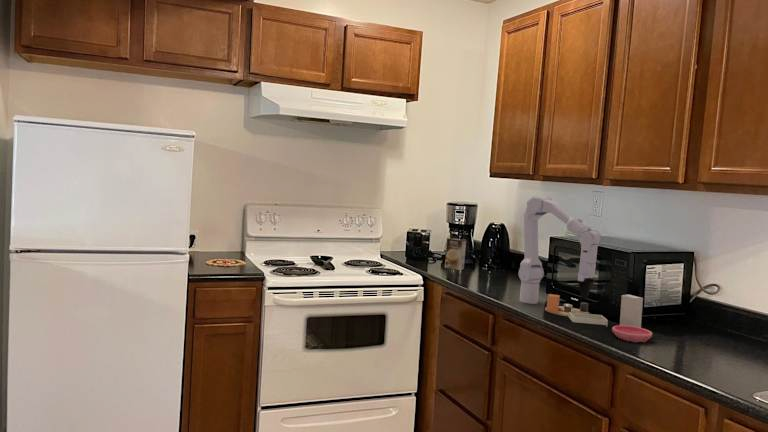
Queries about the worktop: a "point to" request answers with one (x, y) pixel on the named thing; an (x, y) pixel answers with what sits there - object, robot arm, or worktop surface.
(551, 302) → the block
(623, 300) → the skincare box
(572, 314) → the tray
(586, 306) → the dark grey cylinder
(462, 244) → the coffee box
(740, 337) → the worktop surface
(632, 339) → the pink bowl
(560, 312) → the crank plate
